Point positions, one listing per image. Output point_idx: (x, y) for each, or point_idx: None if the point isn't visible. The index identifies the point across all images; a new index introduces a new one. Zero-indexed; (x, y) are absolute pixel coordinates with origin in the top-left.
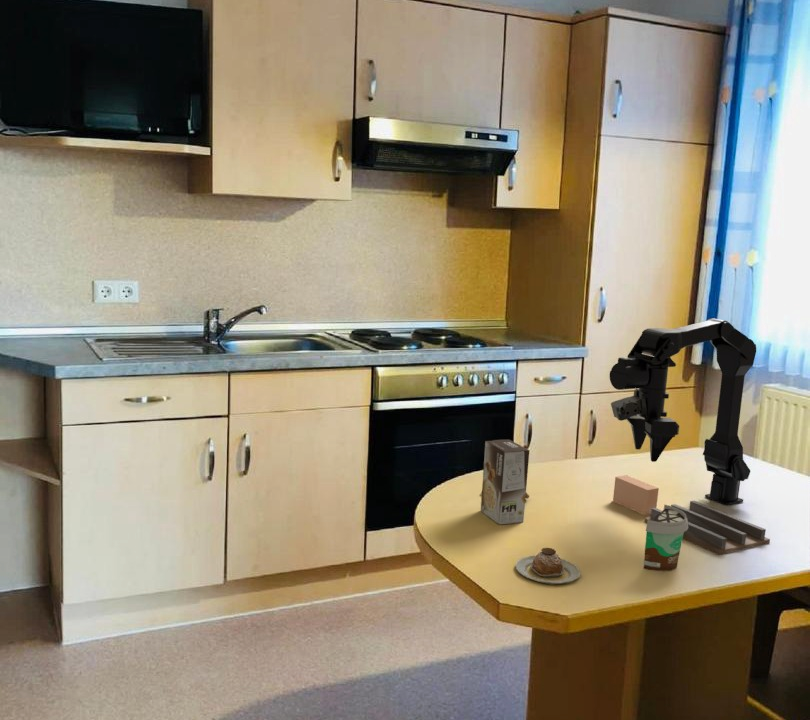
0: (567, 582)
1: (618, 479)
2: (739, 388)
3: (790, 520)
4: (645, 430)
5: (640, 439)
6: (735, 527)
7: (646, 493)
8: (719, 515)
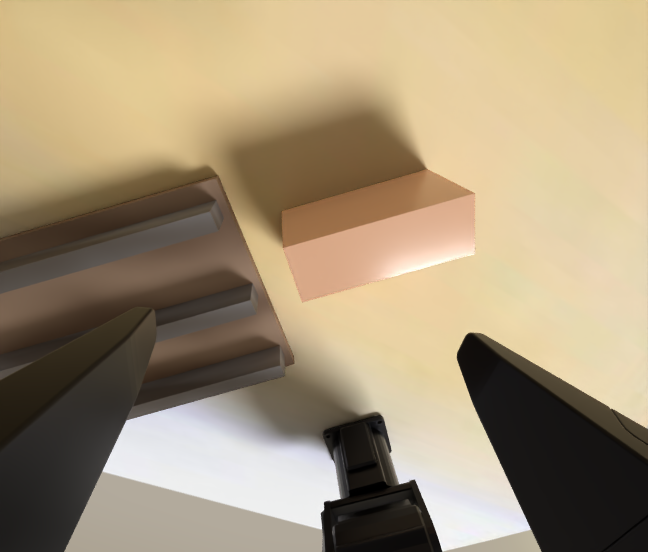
0: None
1: (451, 196)
2: None
3: (228, 490)
4: (553, 531)
5: (506, 415)
6: None
7: (286, 239)
8: (177, 388)
